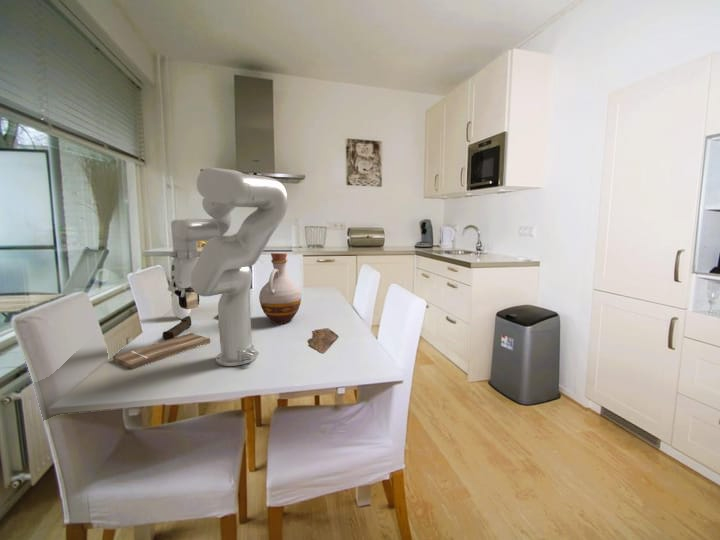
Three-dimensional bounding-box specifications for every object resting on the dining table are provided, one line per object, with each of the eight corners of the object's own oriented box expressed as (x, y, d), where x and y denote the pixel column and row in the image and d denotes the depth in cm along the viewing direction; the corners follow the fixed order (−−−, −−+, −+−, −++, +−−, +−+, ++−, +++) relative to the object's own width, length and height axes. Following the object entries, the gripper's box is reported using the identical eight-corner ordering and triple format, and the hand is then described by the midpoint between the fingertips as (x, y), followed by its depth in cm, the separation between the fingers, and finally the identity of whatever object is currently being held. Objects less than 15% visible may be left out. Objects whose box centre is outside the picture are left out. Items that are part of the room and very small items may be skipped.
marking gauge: (201, 307, 122) (200, 287, 121) (190, 310, 119) (189, 289, 117) (188, 304, 126) (186, 285, 125) (177, 307, 123) (176, 287, 122)
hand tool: (173, 341, 126) (172, 329, 125) (162, 341, 126) (161, 329, 125) (197, 325, 144) (197, 314, 144) (188, 325, 144) (187, 314, 144)
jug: (292, 329, 138) (289, 255, 133) (251, 327, 140) (247, 255, 136) (307, 315, 157) (305, 250, 152) (270, 314, 160) (267, 250, 155)
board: (210, 342, 124) (210, 338, 123) (132, 369, 102) (131, 364, 102) (191, 336, 130) (190, 332, 130) (113, 360, 108) (112, 355, 108)
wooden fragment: (313, 329, 139) (313, 326, 139) (340, 329, 139) (340, 326, 139) (302, 354, 114) (302, 351, 113) (335, 354, 114) (335, 351, 113)
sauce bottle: (173, 321, 148) (170, 281, 146) (172, 317, 155) (168, 278, 152) (193, 318, 153) (190, 279, 150) (191, 314, 159) (188, 276, 156)
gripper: (167, 258, 110) (172, 313, 113) (213, 253, 124) (216, 302, 127) (155, 256, 114) (160, 309, 117) (201, 252, 128) (204, 299, 131)
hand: (189, 305), depth 122 cm, fingers closed on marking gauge, 4 cm apart
